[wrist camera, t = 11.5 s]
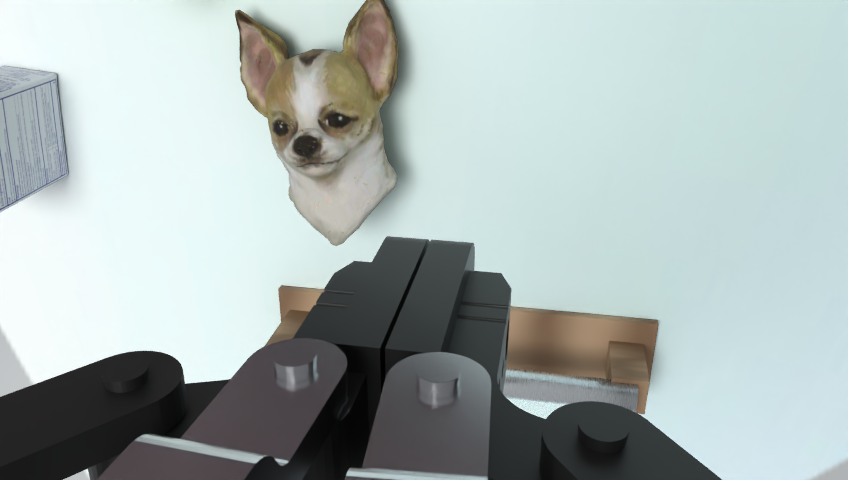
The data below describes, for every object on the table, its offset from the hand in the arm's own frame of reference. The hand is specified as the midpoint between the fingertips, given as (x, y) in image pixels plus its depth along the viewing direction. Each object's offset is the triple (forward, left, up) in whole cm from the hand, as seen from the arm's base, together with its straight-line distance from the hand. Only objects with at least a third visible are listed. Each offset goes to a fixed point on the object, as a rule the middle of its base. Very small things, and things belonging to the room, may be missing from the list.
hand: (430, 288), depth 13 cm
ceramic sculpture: (+13, +7, -37) cm, 40 cm away
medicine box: (+36, +9, -37) cm, 53 cm away
